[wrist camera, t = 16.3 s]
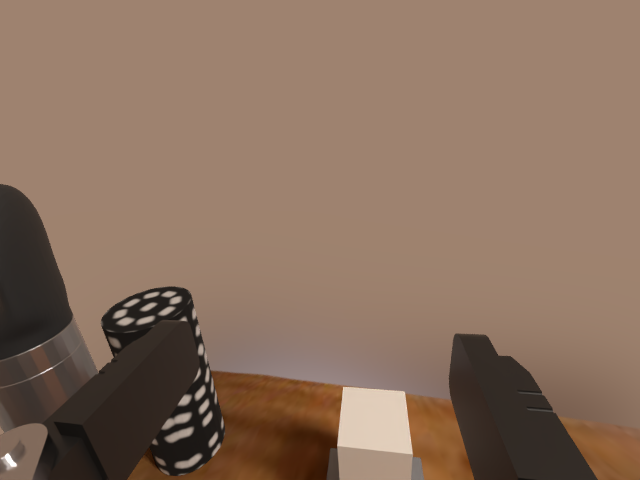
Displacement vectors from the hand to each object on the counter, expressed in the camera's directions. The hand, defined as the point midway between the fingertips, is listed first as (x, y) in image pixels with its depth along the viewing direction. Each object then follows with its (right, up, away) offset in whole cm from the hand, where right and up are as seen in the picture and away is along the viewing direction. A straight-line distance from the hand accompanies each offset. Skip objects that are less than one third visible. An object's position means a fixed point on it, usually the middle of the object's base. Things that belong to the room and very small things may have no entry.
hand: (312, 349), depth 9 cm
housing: (+6, -22, +21) cm, 31 cm away
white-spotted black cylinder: (-16, -22, +29) cm, 40 cm away
